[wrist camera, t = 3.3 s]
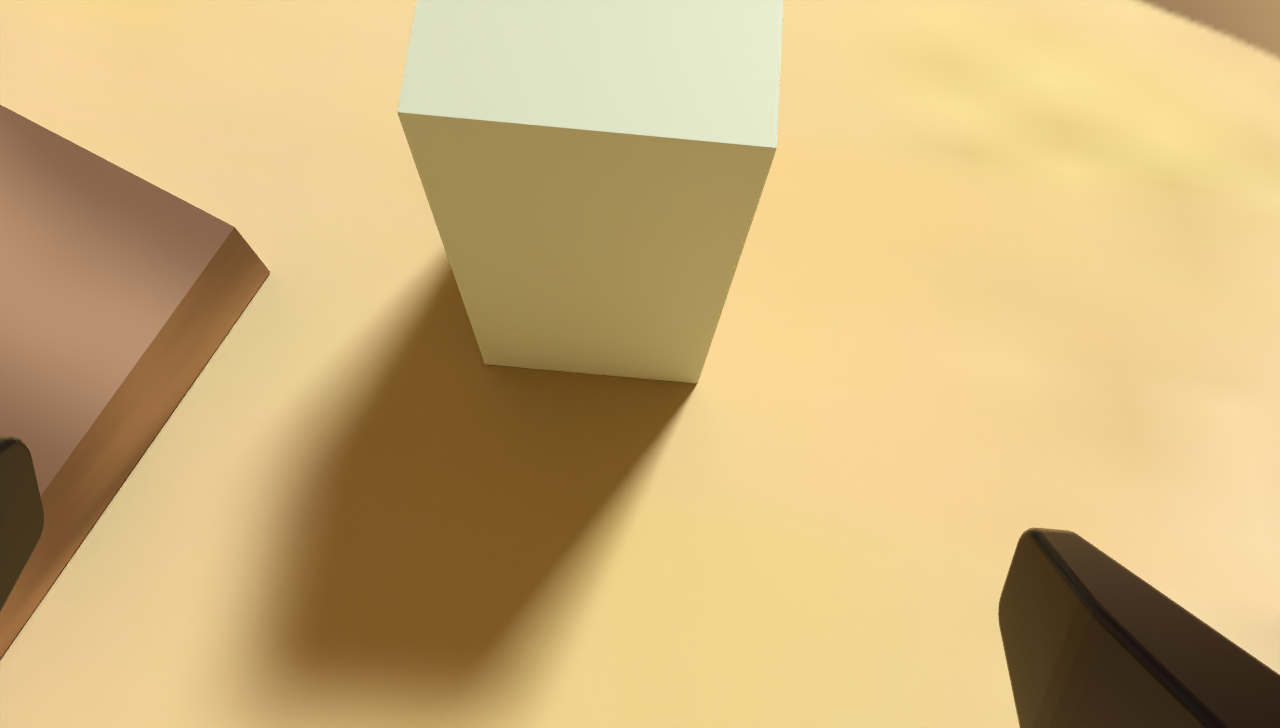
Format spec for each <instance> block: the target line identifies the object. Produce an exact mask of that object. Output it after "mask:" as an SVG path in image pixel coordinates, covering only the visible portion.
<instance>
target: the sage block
mask: <svg viewBox="0 0 1280 728" xmlns="http://www.w3.org/2000/svg"><path fill="white" fill-rule="evenodd" d="M783 1H784V0H417V4H416V9H415V15H414V21H413V26H412V32H411V38H410V43H409V49H408V55H407V60H406V66H405V72H404V77H403V83H402V89H401V94H400V100H399V106H398V111H397V112H398V115H399V118H400V121H401V124H402V127H403V130H404V133H405V135H406V138H407V141H408V144H409V147H410V150H411V153H412V156H413V159H414V161H415V164H416V167H417V170H418V173H419V176H420V179H421V182H422V184H423V187H424V190H425V193H426V196H427V199H428V202H429V205H430V208H431V210H432V213H433V216H434V219H435V222H436V225H437V228H438V231H439V233H440V236H441V239H442V242H443V245H444V248H445V251H446V254H447V257H448V259H449V262H450V265H451V268H452V271H453V274H454V277H455V280H456V282H457V285H458V288H459V291H460V294H461V297H462V300H463V303H464V306H465V308H466V311H467V314H468V317H469V320H470V323H471V326H472V329H473V331H474V334H475V337H476V340H477V343H478V346H479V349H480V352H481V354H482V357H483V360H484V363H485V364H488V365H499V366H510V367H521V368H532V369H543V370H554V371H565V372H576V373H587V374H598V375H609V376H620V377H631V378H642V379H653V380H664V381H675V382H686V383H698V380H699V377H700V375H701V372H702V369H703V366H704V363H705V360H706V357H707V354H708V351H709V348H710V345H711V342H712V339H713V336H714V333H715V330H716V327H717V324H718V321H719V318H720V315H721V312H722V309H723V306H724V303H725V300H726V297H727V294H728V291H729V288H730V285H731V282H732V279H733V276H734V273H735V270H736V267H737V264H738V261H739V258H740V255H741V252H742V249H743V247H744V244H745V241H746V238H747V235H748V232H749V229H750V226H751V223H752V220H753V217H754V214H755V211H756V208H757V205H758V202H759V199H760V196H761V193H762V190H763V187H764V184H765V181H766V178H767V175H768V172H769V169H770V166H771V163H772V160H773V157H774V154H775V151H776V148H777V129H778V108H779V87H780V65H781V44H782V23H783Z"/></svg>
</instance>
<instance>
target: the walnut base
mask: <svg viewBox="0 0 1280 728" xmlns="http://www.w3.org/2000/svg"><path fill="white" fill-rule="evenodd" d="M269 273H270V271H269V270H268V269H267V267H266V266H265V265H264V264H263V262H262V261H261V260H260V259H259V257H258V256H257V255H256V254H255V252H254V251H253V250H252V248H251V247H250V246H249V245H248V243H247V242H246V241H245V240H244V238H243V237H242V236H241V235H240V233H239V232H238V231H237V230H236V228H235V227H233V226H231V225H229V224H228V223H226V222H224V221H222V220H220V219H218V218H216V217H214V216H212V215H210V214H208V213H207V212H205V211H203V210H201V209H199V208H197V207H195V206H193V205H191V204H189V203H187V202H185V201H184V200H182V199H180V198H178V197H176V196H174V195H172V194H170V193H168V192H166V191H164V190H162V189H161V188H159V187H157V186H155V185H153V184H151V183H149V182H147V181H145V180H143V179H141V178H139V177H138V176H136V175H134V174H132V173H130V172H128V171H126V170H124V169H122V168H120V167H118V166H116V165H115V164H113V163H111V162H109V161H107V160H105V159H103V158H101V157H99V156H97V155H95V154H94V153H92V152H90V151H88V150H86V149H84V148H82V147H80V146H78V145H76V144H74V143H72V142H71V141H69V140H67V139H65V138H63V137H61V136H59V135H57V134H55V133H53V132H51V131H49V130H48V129H46V128H44V127H42V126H40V125H38V124H36V123H34V122H32V121H30V120H28V119H26V118H25V117H23V116H21V115H19V114H17V113H15V112H13V111H11V110H9V109H7V108H5V107H3V106H2V105H0V435H4V436H15V437H18V438H20V439H21V440H23V441H24V442H25V443H26V444H27V446H28V447H29V449H30V452H31V455H32V460H33V464H34V469H35V473H36V478H37V482H38V487H39V491H40V496H41V500H42V505H43V509H44V526H43V531H42V534H41V537H40V540H39V542H38V544H37V546H36V548H35V549H34V551H33V553H32V555H31V557H30V559H29V561H28V562H27V564H26V566H25V568H24V570H23V572H22V574H21V576H20V577H19V579H18V581H17V583H16V585H15V587H14V589H13V590H12V592H11V594H10V596H9V598H8V600H7V602H6V603H5V605H4V607H3V609H2V611H1V613H0V659H1V657H2V656H3V654H4V653H5V651H6V650H7V649H8V647H9V646H10V644H11V643H12V641H13V640H14V638H15V637H16V636H17V634H18V633H19V631H20V630H21V628H22V627H23V626H24V624H25V623H26V621H27V620H28V618H29V617H30V616H31V614H32V613H33V611H34V610H35V608H36V607H37V606H38V604H39V603H40V601H41V600H42V598H43V597H44V595H45V594H46V593H47V591H48V590H49V588H50V587H51V585H52V584H53V583H54V581H55V580H56V578H57V577H58V575H59V574H60V573H61V571H62V570H63V568H64V567H65V565H66V564H67V563H68V561H69V560H70V558H71V557H72V555H73V554H74V553H75V551H76V550H77V548H78V547H79V545H80V544H81V542H82V541H83V540H84V538H85V537H86V535H87V534H88V532H89V531H90V530H91V528H92V527H93V525H94V524H95V522H96V521H97V520H98V518H99V517H100V515H101V514H102V512H103V511H104V510H105V508H106V507H107V505H108V504H109V502H110V501H111V499H112V498H113V497H114V495H115V494H116V492H117V491H118V489H119V488H120V487H121V485H122V484H123V482H124V481H125V479H126V478H127V477H128V475H129V474H130V472H131V471H132V469H133V468H134V467H135V465H136V464H137V462H138V461H139V459H140V458H141V457H142V455H143V454H144V452H145V451H146V449H147V448H148V446H149V445H150V444H151V442H152V441H153V439H154V438H155V436H156V435H157V434H158V432H159V431H160V429H161V428H162V426H163V425H164V424H165V422H166V421H167V419H168V418H169V416H170V415H171V414H172V412H173V411H174V409H175V408H176V406H177V405H178V404H179V402H180V401H181V399H182V398H183V396H184V395H185V393H186V392H187V391H188V389H189V388H190V386H191V385H192V383H193V382H194V381H195V379H196V378H197V376H198V375H199V373H200V372H201V371H202V369H203V368H204V366H205V365H206V363H207V362H208V361H209V359H210V358H211V356H212V355H213V353H214V352H215V350H216V349H217V348H218V346H219V345H220V343H221V342H222V340H223V339H224V338H225V336H226V335H227V333H228V332H229V330H230V329H231V328H232V326H233V325H234V323H235V322H236V320H237V319H238V318H239V316H240V315H241V313H242V312H243V310H244V309H245V308H246V306H247V305H248V303H249V302H250V300H251V299H252V297H253V296H254V295H255V293H256V292H257V290H258V289H259V287H260V286H261V285H262V283H263V282H264V280H265V279H266V277H267V276H268V275H269Z"/></svg>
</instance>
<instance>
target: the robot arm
mask: <svg viewBox="0 0 1280 728" xmlns="http://www.w3.org/2000/svg"><path fill="white" fill-rule="evenodd" d="M43 526H44V509H43V505H42V500H41V496H40V491H39V487H38V482H37V478H36V473H35V469H34V464H33V460H32V455H31V452H30V449H29V447H28V446H27V444H26V443H25V442H24V441H23V440H21V439H20V438H18V437H15V436H4V435H0V613H1V611H2V609H3V607H4V605H5V603H6V602H7V600H8V598H9V596H10V594H11V592H12V590H13V589H14V587H15V585H16V583H17V581H18V579H19V577H20V576H21V574H22V572H23V570H24V568H25V566H26V564H27V562H28V561H29V559H30V557H31V555H32V553H33V551H34V549H35V548H36V546H37V544H38V542H39V540H40V537H41V534H42V531H43ZM998 615H999V626H1000V631H1001V636H1002V641H1003V646H1004V651H1005V656H1006V661H1007V666H1008V671H1009V676H1010V681H1011V686H1012V691H1013V696H1014V701H1015V706H1016V711H1017V716H1018V720H1019V725H1020V728H1280V675H1279V674H1278V673H1276V672H1275V671H1273V670H1272V669H1271V668H1269V667H1268V666H1266V665H1265V664H1263V663H1262V662H1260V661H1259V660H1258V659H1256V658H1255V657H1253V656H1252V655H1250V654H1249V653H1247V652H1246V651H1245V650H1243V649H1242V648H1240V647H1239V646H1237V645H1236V644H1234V643H1233V642H1232V641H1230V640H1229V639H1227V638H1226V637H1224V636H1223V635H1221V634H1220V633H1219V632H1217V631H1216V630H1214V629H1213V628H1211V627H1210V626H1208V625H1207V624H1206V623H1204V622H1203V621H1201V620H1200V619H1198V618H1197V617H1196V616H1194V615H1193V614H1191V613H1190V612H1188V611H1187V610H1185V609H1184V608H1183V607H1181V606H1180V605H1178V604H1177V603H1175V602H1174V601H1172V600H1171V599H1170V598H1168V597H1167V596H1165V595H1164V594H1162V593H1161V592H1159V591H1158V590H1157V589H1155V588H1154V587H1152V586H1151V585H1149V584H1148V583H1147V582H1145V581H1144V580H1142V579H1141V578H1139V577H1138V576H1136V575H1135V574H1134V573H1132V572H1131V571H1129V570H1128V569H1126V568H1125V567H1123V566H1122V565H1121V564H1119V563H1118V562H1116V561H1115V560H1113V559H1112V558H1110V557H1109V556H1108V555H1106V554H1105V553H1103V552H1102V551H1100V550H1099V549H1098V548H1096V547H1095V546H1093V545H1092V544H1090V543H1089V542H1087V541H1086V540H1085V539H1083V538H1082V537H1080V536H1079V535H1077V534H1076V533H1074V532H1071V531H1067V530H1055V529H1043V528H1030V529H1028V530H1026V531H1025V532H1024V533H1023V534H1022V535H1021V537H1020V539H1019V541H1018V543H1017V547H1016V550H1015V553H1014V556H1013V559H1012V562H1011V565H1010V568H1009V572H1008V575H1007V578H1006V581H1005V584H1004V587H1003V590H1002V593H1001V597H1000V601H999V612H998Z"/></svg>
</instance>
